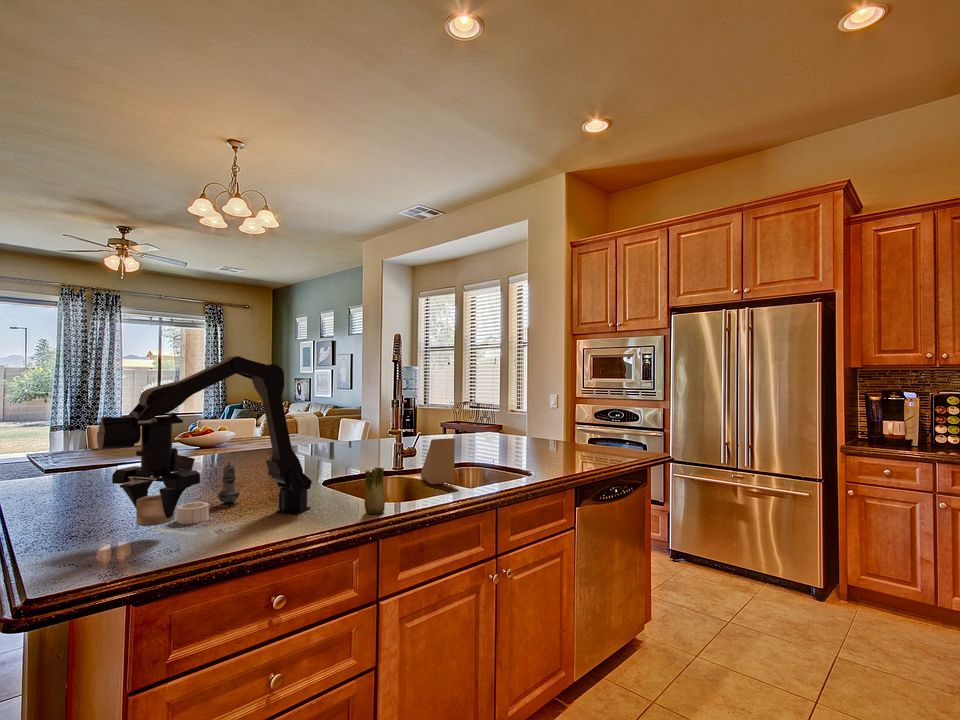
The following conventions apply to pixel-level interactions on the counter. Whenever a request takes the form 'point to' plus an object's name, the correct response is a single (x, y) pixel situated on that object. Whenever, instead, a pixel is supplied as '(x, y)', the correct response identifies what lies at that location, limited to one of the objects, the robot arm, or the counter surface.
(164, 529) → the mat
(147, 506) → the beige rounded cylinder
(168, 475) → the robot arm
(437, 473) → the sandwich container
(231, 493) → the salt shaker
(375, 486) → the fennel bulb
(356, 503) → the counter surface
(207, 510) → the bowl
